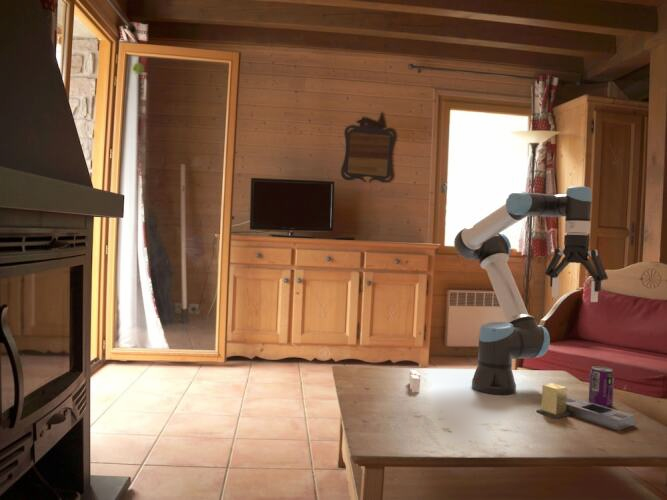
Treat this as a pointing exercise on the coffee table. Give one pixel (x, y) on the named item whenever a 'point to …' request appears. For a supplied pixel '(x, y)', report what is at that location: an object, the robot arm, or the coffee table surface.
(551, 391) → the yellow rectangular block
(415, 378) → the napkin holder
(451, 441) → the coffee table surface
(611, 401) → the beverage can
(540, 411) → the rubber mat
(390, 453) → the coffee table surface
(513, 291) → the robot arm
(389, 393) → the coffee table surface
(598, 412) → the rack rail
